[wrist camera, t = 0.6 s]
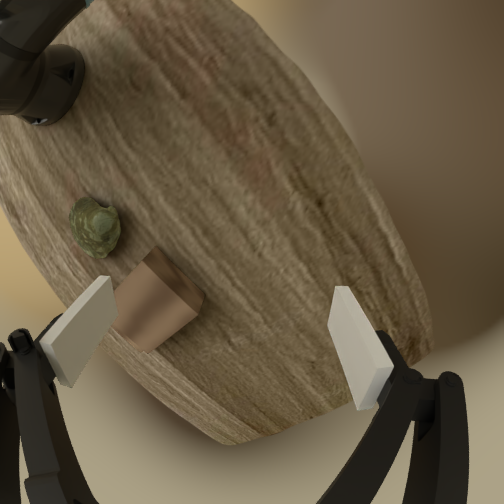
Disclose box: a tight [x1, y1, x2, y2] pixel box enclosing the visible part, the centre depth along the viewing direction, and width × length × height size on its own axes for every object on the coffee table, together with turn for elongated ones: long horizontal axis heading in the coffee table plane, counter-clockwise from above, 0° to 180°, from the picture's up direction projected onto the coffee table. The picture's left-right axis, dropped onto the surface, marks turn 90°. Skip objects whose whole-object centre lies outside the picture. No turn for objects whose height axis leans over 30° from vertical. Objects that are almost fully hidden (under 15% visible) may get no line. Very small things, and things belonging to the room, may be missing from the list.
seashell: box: [69, 197, 121, 259], centre depth 39 cm, size 10×7×10 cm
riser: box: [111, 246, 205, 354], centre depth 42 cm, size 11×17×6 cm, turn 132°
